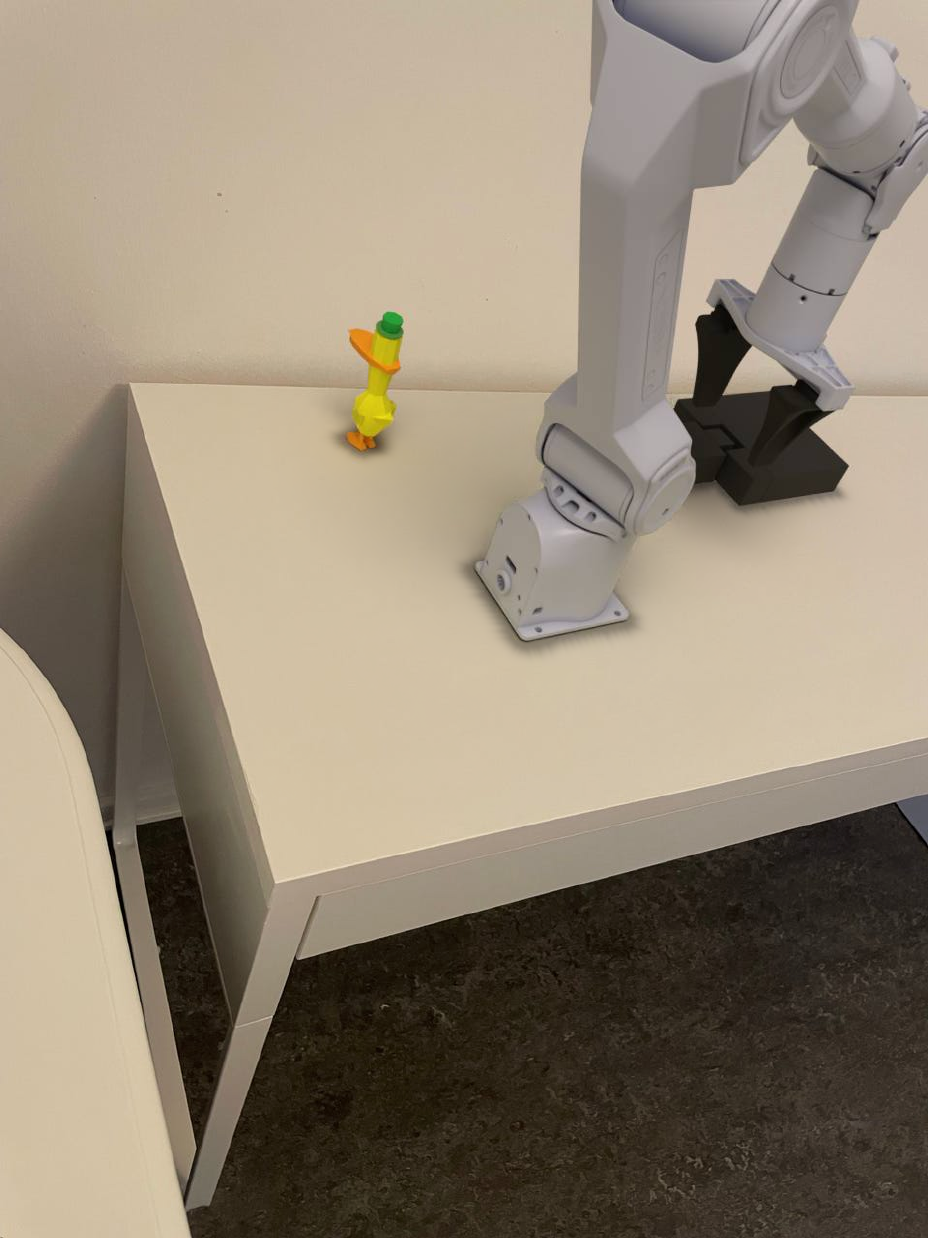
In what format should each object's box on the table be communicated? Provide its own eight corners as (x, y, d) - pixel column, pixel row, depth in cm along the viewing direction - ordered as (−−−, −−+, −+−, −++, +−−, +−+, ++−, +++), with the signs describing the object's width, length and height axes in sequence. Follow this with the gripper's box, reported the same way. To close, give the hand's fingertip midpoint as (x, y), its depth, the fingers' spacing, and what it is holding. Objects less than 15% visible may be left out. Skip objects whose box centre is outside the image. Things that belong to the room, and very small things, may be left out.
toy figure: (318, 422, 86) (341, 290, 77) (353, 413, 88) (378, 284, 79) (367, 469, 83) (395, 338, 74) (401, 458, 85) (432, 329, 76)
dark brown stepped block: (670, 487, 91) (683, 460, 89) (640, 452, 94) (652, 425, 92) (730, 478, 94) (743, 452, 92) (699, 445, 97) (711, 419, 95)
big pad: (739, 505, 92) (753, 479, 90) (665, 424, 98) (677, 398, 96) (834, 490, 97) (849, 465, 95) (758, 415, 104) (771, 390, 102)
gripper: (919, 329, 70) (824, 485, 79) (788, 224, 78) (716, 377, 87) (846, 333, 67) (756, 495, 76) (717, 223, 75) (650, 382, 84)
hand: (730, 433), depth 81 cm, fingers open, 7 cm apart
